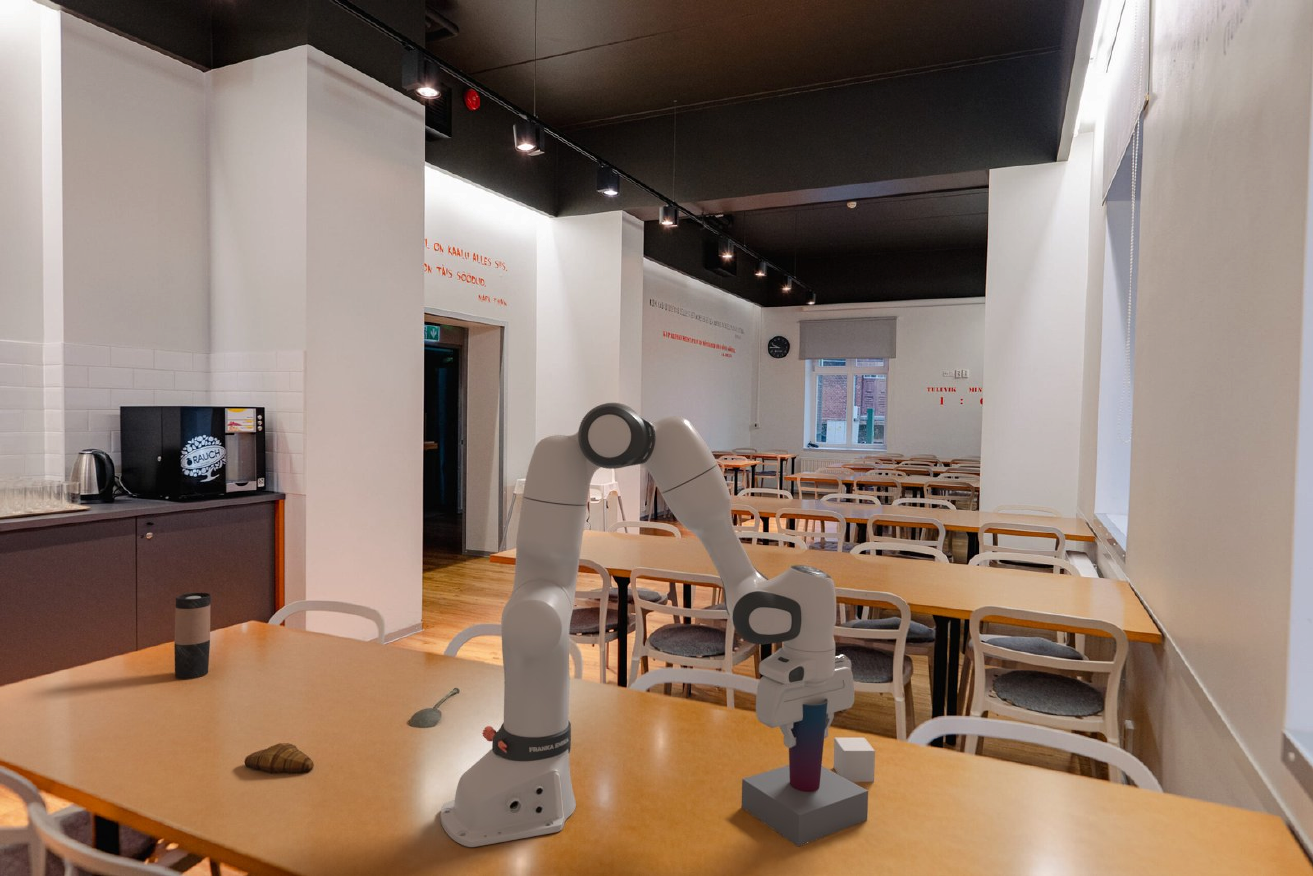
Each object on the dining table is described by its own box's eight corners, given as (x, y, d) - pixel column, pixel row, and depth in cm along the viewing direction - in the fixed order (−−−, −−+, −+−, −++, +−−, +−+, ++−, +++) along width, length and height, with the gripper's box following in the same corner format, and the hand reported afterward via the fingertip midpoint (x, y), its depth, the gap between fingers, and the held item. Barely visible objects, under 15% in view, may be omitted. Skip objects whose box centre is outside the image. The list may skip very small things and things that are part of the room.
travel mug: (215, 673, 188) (217, 595, 188) (183, 682, 182) (184, 600, 182) (199, 668, 192) (201, 591, 192) (167, 675, 186) (169, 596, 186)
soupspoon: (403, 732, 159) (433, 736, 158) (404, 717, 158) (433, 720, 158) (443, 692, 180) (469, 695, 180) (444, 679, 180) (470, 682, 180)
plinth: (798, 846, 117) (799, 815, 117) (741, 807, 129) (742, 779, 129) (867, 820, 126) (868, 790, 126) (808, 785, 137) (809, 758, 137)
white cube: (863, 768, 146) (864, 737, 146) (874, 782, 140) (875, 750, 140) (833, 767, 145) (834, 737, 145) (842, 782, 139) (844, 750, 139)
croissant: (323, 765, 141) (323, 739, 141) (301, 781, 134) (301, 754, 134) (258, 758, 143) (259, 732, 143) (233, 774, 136) (234, 747, 136)
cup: (825, 796, 123) (828, 707, 123) (784, 791, 124) (787, 703, 124) (824, 778, 130) (826, 692, 130) (784, 773, 131) (787, 689, 131)
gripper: (837, 648, 135) (835, 723, 135) (751, 665, 124) (748, 747, 124) (864, 657, 130) (861, 736, 130) (776, 676, 119) (774, 761, 119)
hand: (805, 741), depth 127 cm, fingers closed on cup, 6 cm apart
